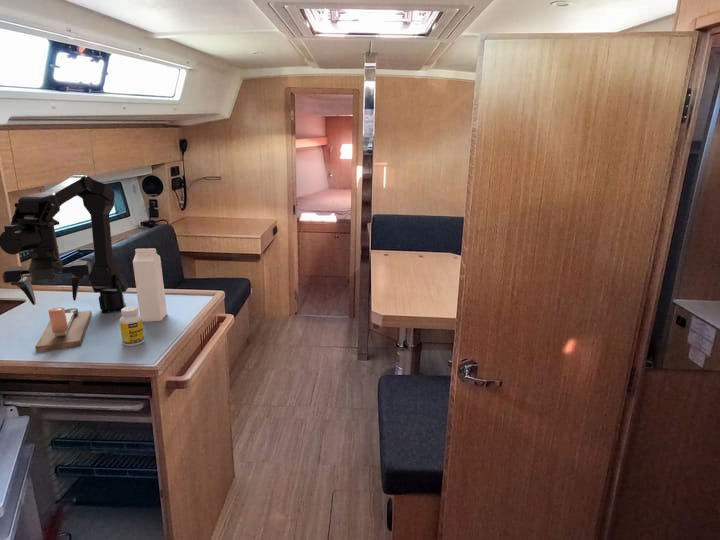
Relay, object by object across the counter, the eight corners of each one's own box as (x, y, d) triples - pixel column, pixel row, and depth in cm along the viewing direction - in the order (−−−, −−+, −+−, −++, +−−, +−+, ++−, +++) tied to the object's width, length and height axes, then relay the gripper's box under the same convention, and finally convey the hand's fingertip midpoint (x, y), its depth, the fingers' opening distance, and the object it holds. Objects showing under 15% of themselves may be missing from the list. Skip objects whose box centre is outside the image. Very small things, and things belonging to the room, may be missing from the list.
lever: (79, 311, 142) (75, 289, 140) (68, 335, 124) (63, 310, 122) (64, 312, 140) (60, 290, 138) (51, 338, 123) (46, 313, 120)
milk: (161, 321, 139) (152, 250, 133) (140, 321, 139) (130, 251, 133) (167, 313, 145) (159, 246, 139) (147, 314, 145) (138, 246, 138)
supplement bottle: (130, 348, 122) (125, 313, 119) (118, 343, 124) (113, 309, 122) (149, 341, 126) (144, 307, 123) (137, 336, 129) (132, 303, 126)
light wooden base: (91, 314, 144) (91, 310, 144) (80, 345, 123) (79, 340, 122) (54, 319, 140) (53, 314, 140) (36, 352, 119) (35, 346, 119)
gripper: (-11, 255, 107) (3, 317, 112) (81, 248, 114) (90, 307, 119) (3, 245, 117) (16, 303, 122) (87, 239, 124) (96, 294, 129)
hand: (54, 302), depth 122 cm, fingers open, 9 cm apart
